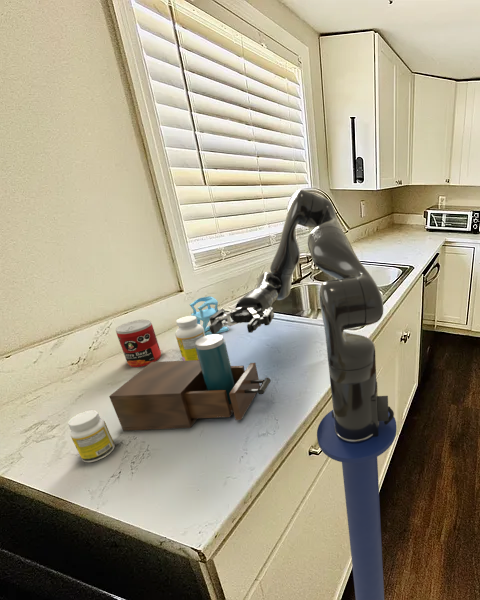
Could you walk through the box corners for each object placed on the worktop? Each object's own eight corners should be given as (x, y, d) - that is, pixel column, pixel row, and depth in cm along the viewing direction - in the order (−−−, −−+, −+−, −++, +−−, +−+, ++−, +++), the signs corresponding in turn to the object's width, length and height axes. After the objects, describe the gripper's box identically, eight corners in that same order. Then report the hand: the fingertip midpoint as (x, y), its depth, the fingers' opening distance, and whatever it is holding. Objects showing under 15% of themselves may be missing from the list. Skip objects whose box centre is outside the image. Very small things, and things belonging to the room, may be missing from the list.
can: (241, 391, 75) (228, 333, 70) (231, 406, 70) (216, 345, 65) (217, 392, 75) (202, 334, 70) (205, 407, 70) (188, 346, 65)
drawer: (278, 386, 79) (273, 362, 76) (261, 419, 68) (256, 392, 66) (207, 389, 78) (201, 364, 76) (179, 422, 67) (171, 395, 65)
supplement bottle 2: (187, 356, 94) (175, 315, 90) (212, 352, 96) (202, 312, 91) (180, 368, 88) (168, 325, 84) (208, 364, 90) (197, 322, 85)
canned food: (122, 369, 88) (108, 333, 84) (137, 354, 95) (125, 320, 91) (153, 366, 89) (141, 330, 86) (166, 351, 97) (156, 318, 93)
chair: (192, 334, 107) (182, 300, 103) (216, 324, 114) (209, 292, 110) (204, 340, 103) (195, 305, 99) (229, 330, 110) (221, 297, 106)
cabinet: (219, 390, 79) (211, 359, 76) (190, 427, 67) (180, 393, 64) (161, 392, 78) (151, 361, 75) (122, 430, 67) (108, 396, 64)
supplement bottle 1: (89, 447, 63) (73, 412, 60) (119, 440, 64) (105, 405, 61) (77, 466, 58) (58, 430, 55) (109, 458, 60) (93, 422, 57)
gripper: (227, 292, 90) (196, 316, 75) (279, 291, 91) (258, 314, 75) (232, 317, 93) (203, 345, 78) (283, 315, 93) (264, 342, 78)
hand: (230, 329), depth 76 cm, fingers open, 8 cm apart
